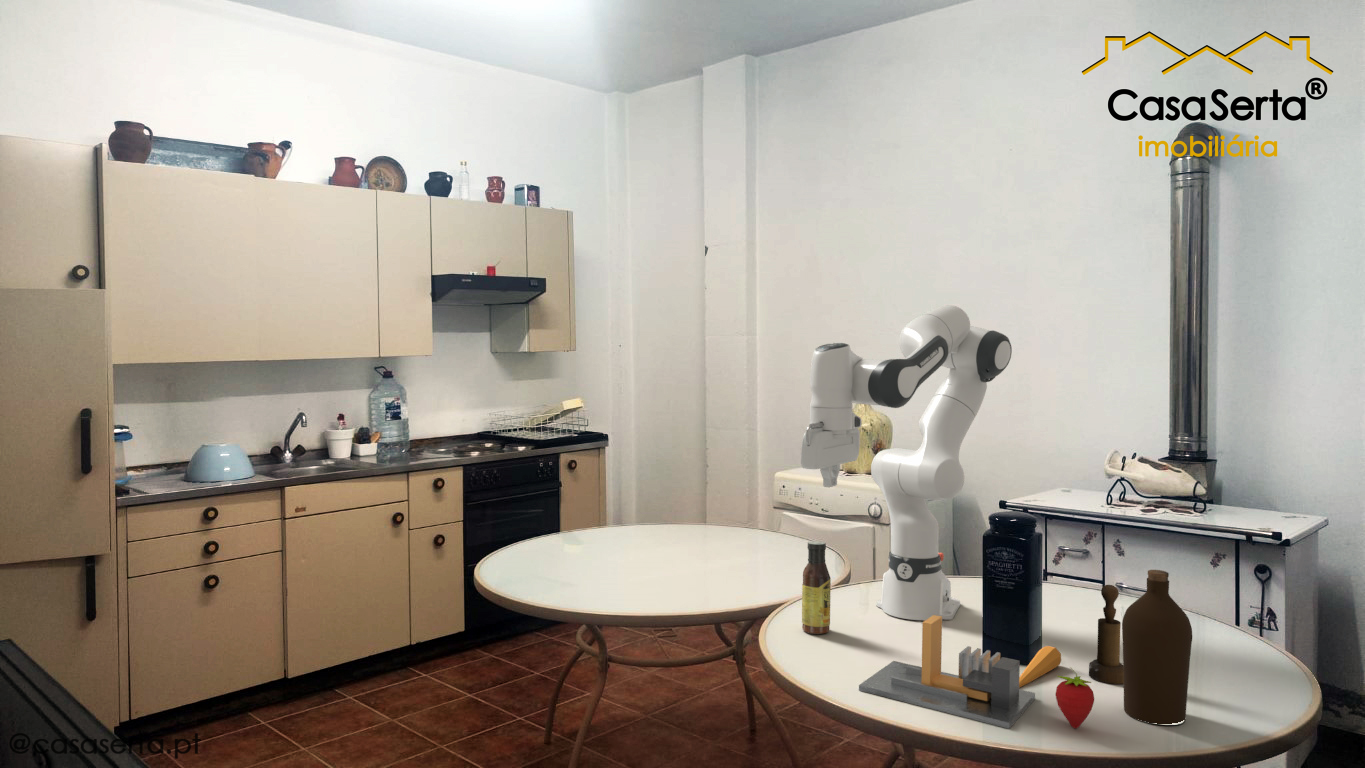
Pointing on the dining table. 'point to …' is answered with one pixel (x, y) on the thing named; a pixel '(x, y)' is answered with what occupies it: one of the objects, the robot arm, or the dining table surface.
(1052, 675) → the dining table surface
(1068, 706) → the strawberry
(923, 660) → the orange l-shaped block
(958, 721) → the dining table surface
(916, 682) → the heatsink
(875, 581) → the dining table surface
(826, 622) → the sauce bottle
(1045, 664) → the carrot
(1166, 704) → the olive oil
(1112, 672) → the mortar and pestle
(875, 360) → the robot arm
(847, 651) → the dining table surface
